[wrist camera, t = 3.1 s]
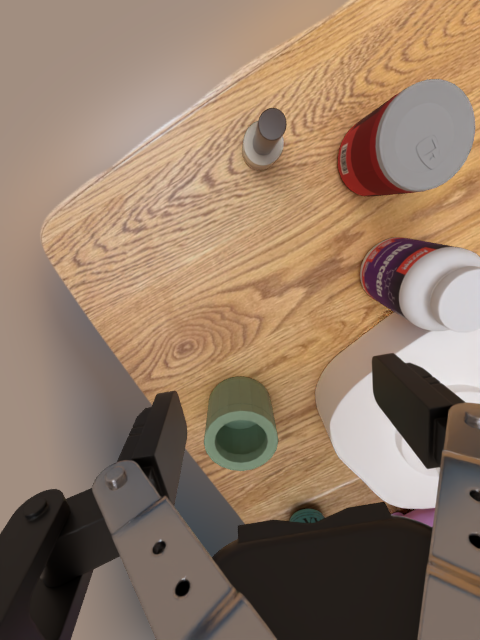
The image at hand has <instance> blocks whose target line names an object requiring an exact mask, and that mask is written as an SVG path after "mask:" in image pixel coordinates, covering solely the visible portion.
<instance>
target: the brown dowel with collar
mask: <svg viewBox="0 0 480 640" xmlns="http://www.w3.org/2000/svg"><path fill="white" fill-rule="evenodd" d="M285 130H286V118H285V116H284V114H283V113H282V112H281V111H280V110H279V109H276V108H269V109H267V110H265V111H264V112H263V113H262V114H261V116H260V118H259V121H256V122H254V123H253V124H252V125H250V127H249V128H248V129H247V131H246V133H245V136H244V140H243V146H242V154H243V158H244V160H245V162H246V164H247V165H248V166H249V167H251V168H252V169H255V170H265V169H267V168H269V167H270V166H272V165H273V163H274V162H275V161H276V160H277V159H278V158H279V156H280V155H281V153H282V150H283V146H284V139H283V134H284V132H285Z"/></svg>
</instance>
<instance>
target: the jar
mask: <svg viewBox="0 0 480 640" xmlns="http://www.w3.org/2000/svg"><path fill="white" fill-rule="evenodd" d="M277 444H278V435H277V430H276V425H275V420H274V415H273V410H272V405H271V400H270V396H269V394H268V391H267V390H266V388H265V387H264V386H263V385H262V384H261V383H259V382H258V381H256V380H254V379H251V378H248V377H232V378H229V379H226V380H224V381H222V382H221V383H219V384H218V385H217V386H216V387H215V388H214V389H213V391H212V393H211V395H210V398H209V405H208V413H207V421H206V430H205V438H204V445H205V449H206V452H207V454H208V455H209V456H210V458H211V459H212V460H213V461H214V462H215V463H217V464H218V465H220V466H221V467H224V468H227V469H230V470H238V471H245V470H251V469H254V468H257V467H259V466H261V465H263V464H264V463H266V462H267V461H268V460H269V459H270V458H271V457H272V456H273V454H274V453H275V451H276V449H277Z"/></svg>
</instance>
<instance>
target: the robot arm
mask: <svg viewBox="0 0 480 640" xmlns="http://www.w3.org/2000/svg"><path fill="white" fill-rule="evenodd" d="M372 383H373V394H374V398H375V400H376V402H377V404H378V406H379V407H380V408H381V410H382V411H383V412H384V414H385V415H386V416H387V418H388V419H389V420H390V421H391V423H392V424H393V425H394V427H395V428H396V429H397V431H398V432H399V433H400V434H401V436H402V437H403V438H404V440H405V441H406V442H407V444H408V445H409V446H410V448H411V449H412V450H413V451H414V453H415V454H416V455H417V457H418V458H419V459H420V461H421V462H422V463H423V464H424V466H425V467H426V468H427V469H432V468H438V467H440V474H439V481H438V489H437V497H436V505H435V513H434V521H433V527H431V526H429V525H427V524H424V523H422V522H419V521H417V520H414V519H410V518H407V517H402V516H397V515H391V514H390V512H389V510H388V508H387V506H386V504H385V502H380V503H374V504H368V505H362V506H356V507H350V508H346V509H344V510H342V511H340V512H337V513H335V514H333V515H331V516H329V517H326V518H324V519H322V520H320V521H318V522H315V523H302V522H291V521H280V520H270V521H263V522H257V523H251V524H245V525H239V526H238V539H237V540H235V541H233V542H231V543H230V544H228V545H226V546H225V547H223V548H222V549H221V550H219V551H218V552H217V553H216V554H215V555H214V556H213V557H211V556H210V555H209V553H208V552H207V551H206V549H205V548H204V547H203V545H202V544H201V543H200V541H199V540H198V539H197V537H196V536H195V534H194V533H193V532H192V530H191V529H190V528H189V526H188V525H187V524H186V522H185V521H184V519H183V518H182V517H181V515H180V514H179V513H178V511H177V510H176V508H175V507H174V504H175V498H176V493H177V488H178V483H179V477H180V472H181V467H182V461H183V456H184V451H185V445H186V440H187V425H186V420H185V417H184V414H183V410H182V407H181V403H180V400H179V396H178V394H177V392H176V391H170V392H164V393H158V394H157V395H156V397H155V400H154V402H153V405H152V407H149V408H145V409H144V410H143V411H142V413H140V415H139V416H138V417H137V418H136V420H135V423H134V425H133V428H132V429H131V432H130V434H129V437H128V438H127V441H126V443H125V445H124V447H123V449H122V452H121V454H120V456H119V458H118V461H117V462H116V463H114V464H112V465H110V466H109V467H107V468H106V469H104V470H103V471H102V472H101V473H100V474H99V475H98V476H97V478H96V479H95V481H94V483H93V486H92V488H91V489H89V490H86V491H84V492H81V493H79V494H77V495H74V496H72V497H70V498H67V499H65V497H64V495H63V493H62V492H61V491H60V490H57V489H51V490H46V491H43V492H41V493H39V494H36V495H35V496H33V497H31V498H30V499H28V500H27V501H26V502H25V503H24V504H22V505H21V506H20V507H19V508H18V509H17V510H16V511H15V513H14V514H13V515H12V517H11V518H10V520H9V522H8V523H7V525H6V526H5V528H4V529H3V531H2V532H1V534H0V640H71V637H72V633H73V631H74V627H75V625H76V622H77V618H78V615H79V612H80V609H81V606H82V603H83V600H84V597H85V594H86V591H87V587H88V585H89V582H90V578H91V576H92V573H93V570H94V569H95V568H97V567H99V566H101V565H103V564H105V563H107V562H109V561H111V560H113V559H115V558H117V557H119V556H120V557H121V559H122V561H123V564H124V566H125V569H126V571H127V573H128V575H129V578H130V580H131V582H132V585H133V587H134V589H135V592H136V594H137V596H138V599H139V601H140V603H141V605H142V607H143V610H144V612H145V615H146V617H147V619H148V622H149V624H150V626H151V629H152V631H153V633H154V635H155V638H156V640H480V404H477V403H466V402H465V401H463V400H462V399H461V398H460V397H458V396H457V395H456V394H455V393H453V392H452V391H451V390H450V389H448V388H447V387H446V386H445V385H444V384H442V383H440V381H439V380H437V379H436V378H435V377H432V375H431V374H430V373H429V372H427V371H426V370H425V369H424V368H422V367H420V366H417V365H415V364H412V363H405V362H404V361H402V360H401V359H400V358H399V357H398V356H397V355H395V354H394V353H388V354H383V355H377V356H373V358H372Z"/></svg>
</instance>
